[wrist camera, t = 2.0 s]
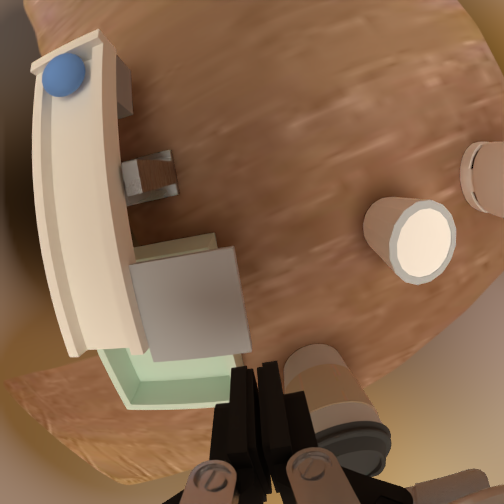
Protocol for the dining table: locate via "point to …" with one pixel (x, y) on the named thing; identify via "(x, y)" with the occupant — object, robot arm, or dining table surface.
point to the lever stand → (149, 178)
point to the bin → (170, 372)
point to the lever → (117, 232)
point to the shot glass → (411, 236)
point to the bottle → (484, 177)
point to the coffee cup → (338, 409)
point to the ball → (63, 75)
